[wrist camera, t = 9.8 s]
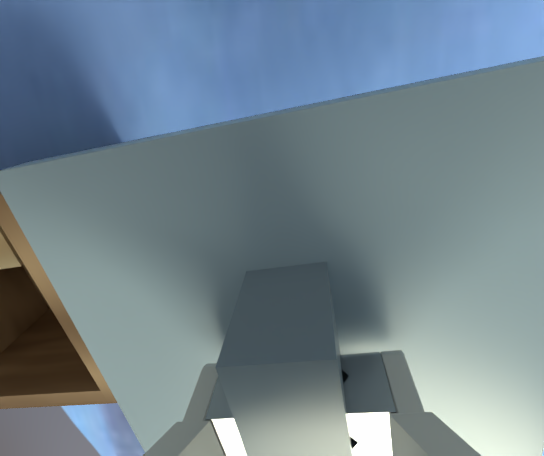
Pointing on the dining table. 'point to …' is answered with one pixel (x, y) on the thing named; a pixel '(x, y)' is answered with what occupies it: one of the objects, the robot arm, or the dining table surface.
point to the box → (40, 337)
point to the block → (8, 253)
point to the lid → (313, 259)
